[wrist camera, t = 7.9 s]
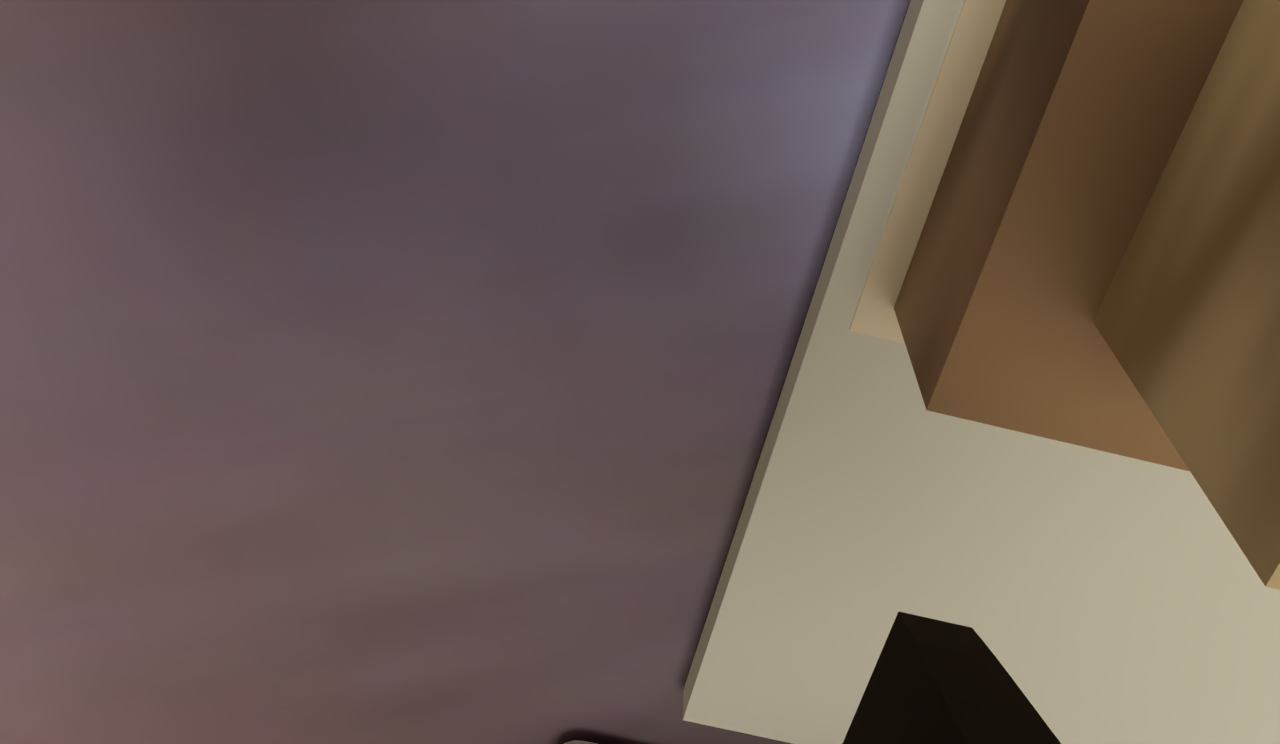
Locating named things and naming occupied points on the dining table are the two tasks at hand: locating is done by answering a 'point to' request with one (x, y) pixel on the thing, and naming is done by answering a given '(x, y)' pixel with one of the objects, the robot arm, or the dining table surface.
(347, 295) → the dining table surface
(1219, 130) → the light wooden cube
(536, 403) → the dining table surface
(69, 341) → the dining table surface
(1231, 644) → the plain cream board
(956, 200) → the walnut slab
